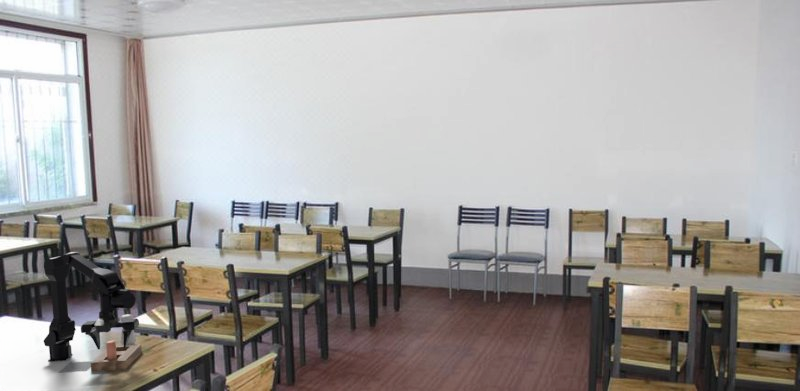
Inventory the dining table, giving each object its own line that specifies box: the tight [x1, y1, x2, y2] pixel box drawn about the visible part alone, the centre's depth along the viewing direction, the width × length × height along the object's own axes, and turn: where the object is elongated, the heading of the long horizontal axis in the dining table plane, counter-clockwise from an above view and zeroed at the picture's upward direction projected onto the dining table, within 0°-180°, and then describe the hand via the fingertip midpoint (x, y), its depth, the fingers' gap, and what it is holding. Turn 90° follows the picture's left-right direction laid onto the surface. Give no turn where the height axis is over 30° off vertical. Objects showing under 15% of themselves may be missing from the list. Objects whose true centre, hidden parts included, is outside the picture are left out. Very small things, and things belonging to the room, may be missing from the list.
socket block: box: [90, 343, 143, 372], centre depth 231 cm, size 12×18×4 cm, turn 5°
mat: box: [57, 360, 93, 373], centre depth 227 cm, size 10×10×1 cm
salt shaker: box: [119, 313, 137, 345], centre depth 248 cm, size 6×6×13 cm
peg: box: [105, 340, 117, 360], centre depth 226 cm, size 3×3×9 cm
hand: (112, 348), depth 226 cm, fingers open, 9 cm apart
